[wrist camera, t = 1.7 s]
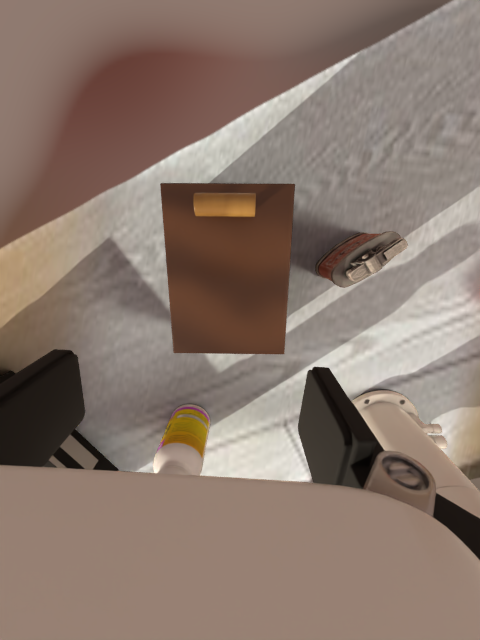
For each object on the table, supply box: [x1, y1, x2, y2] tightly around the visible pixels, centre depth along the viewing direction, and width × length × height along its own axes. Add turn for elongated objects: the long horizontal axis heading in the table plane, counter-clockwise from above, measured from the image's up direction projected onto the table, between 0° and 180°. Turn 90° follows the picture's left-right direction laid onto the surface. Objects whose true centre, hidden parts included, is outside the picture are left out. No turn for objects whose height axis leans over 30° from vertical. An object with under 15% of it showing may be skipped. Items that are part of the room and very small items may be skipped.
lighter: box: [315, 231, 408, 288], centre depth 31 cm, size 8×3×10 cm, turn 127°
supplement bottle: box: [153, 404, 210, 476], centre depth 38 cm, size 7×7×13 cm
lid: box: [160, 183, 295, 354], centre depth 25 cm, size 17×13×5 cm
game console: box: [0, 371, 118, 471], centre depth 42 cm, size 21×32×8 cm, turn 35°
